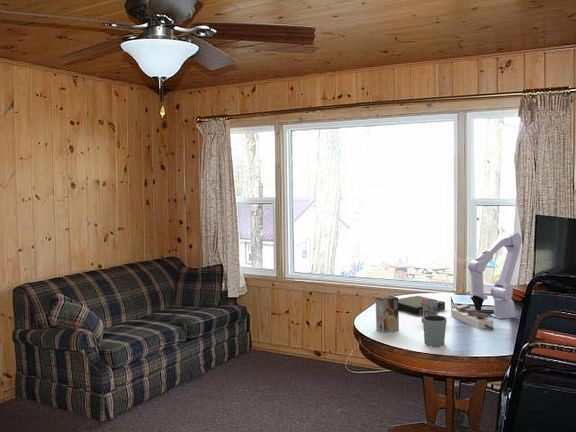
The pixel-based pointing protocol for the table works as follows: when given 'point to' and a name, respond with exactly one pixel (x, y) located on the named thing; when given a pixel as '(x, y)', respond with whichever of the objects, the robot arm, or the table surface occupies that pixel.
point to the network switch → (415, 305)
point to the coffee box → (387, 314)
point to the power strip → (472, 319)
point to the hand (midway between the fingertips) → (478, 310)
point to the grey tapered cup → (434, 330)
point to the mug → (429, 307)
